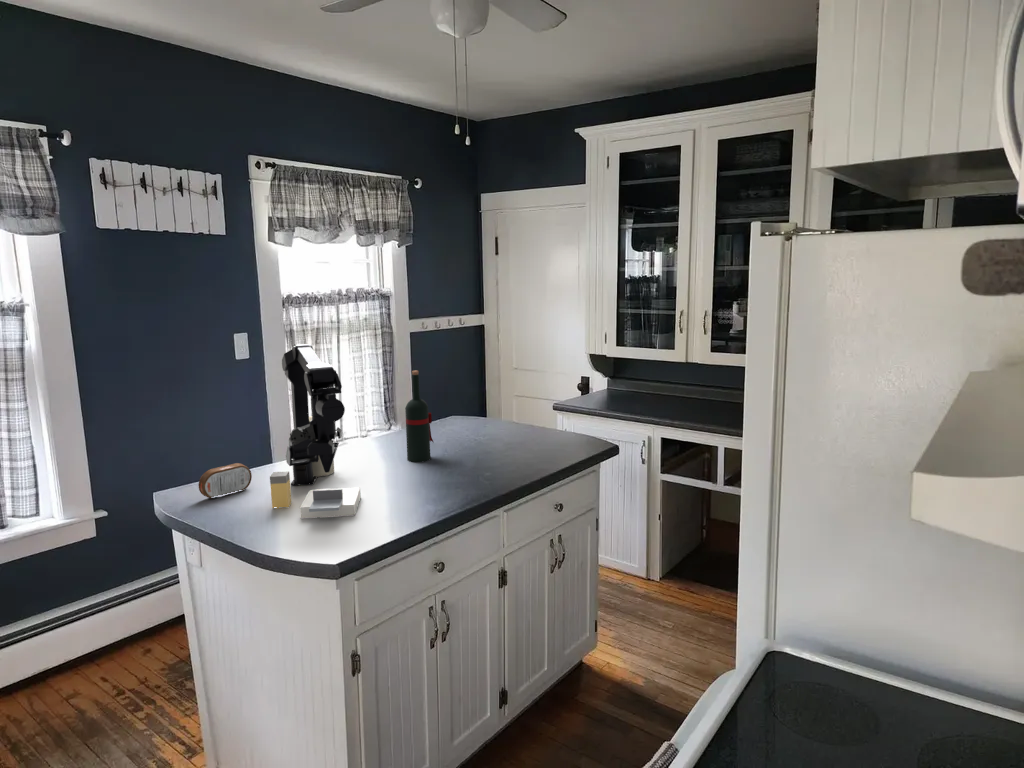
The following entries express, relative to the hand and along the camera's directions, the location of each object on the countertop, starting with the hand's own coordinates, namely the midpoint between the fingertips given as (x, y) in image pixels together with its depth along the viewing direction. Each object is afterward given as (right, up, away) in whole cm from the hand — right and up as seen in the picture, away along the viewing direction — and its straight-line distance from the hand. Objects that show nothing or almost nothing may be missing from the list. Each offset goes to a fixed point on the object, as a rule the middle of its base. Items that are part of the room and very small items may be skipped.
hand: (327, 472), depth 178 cm
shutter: (+1, -8, -3) cm, 9 cm away
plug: (-14, -10, +7) cm, 19 cm away
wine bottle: (+18, -2, +50) cm, 53 cm away
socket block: (0, -10, +5) cm, 11 cm away
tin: (-34, -9, +17) cm, 39 cm away
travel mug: (-12, -5, +35) cm, 37 cm away
